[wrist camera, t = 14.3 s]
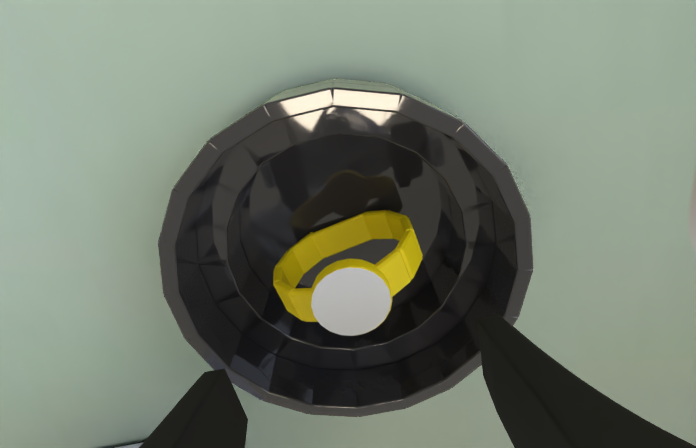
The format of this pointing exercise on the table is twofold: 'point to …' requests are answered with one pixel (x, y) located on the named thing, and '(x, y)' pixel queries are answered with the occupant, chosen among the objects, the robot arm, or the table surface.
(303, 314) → the watch
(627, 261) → the table surface
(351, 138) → the bowl
